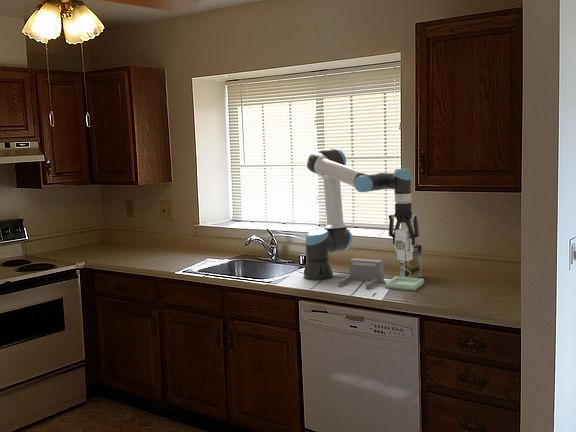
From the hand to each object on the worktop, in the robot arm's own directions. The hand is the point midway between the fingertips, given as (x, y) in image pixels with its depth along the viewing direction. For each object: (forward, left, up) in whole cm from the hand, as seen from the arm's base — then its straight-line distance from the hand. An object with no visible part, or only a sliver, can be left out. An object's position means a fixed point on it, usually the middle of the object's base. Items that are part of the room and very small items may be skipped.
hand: (404, 251), depth 283 cm
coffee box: (-3, +18, -17) cm, 25 cm away
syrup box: (0, 0, -4) cm, 4 cm away
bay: (-21, -3, -16) cm, 27 cm away
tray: (0, 0, -16) cm, 16 cm away
